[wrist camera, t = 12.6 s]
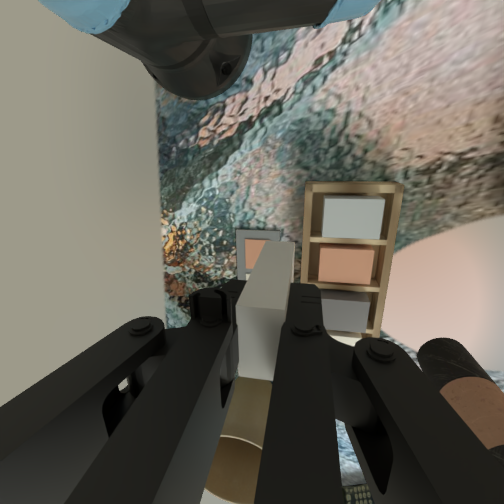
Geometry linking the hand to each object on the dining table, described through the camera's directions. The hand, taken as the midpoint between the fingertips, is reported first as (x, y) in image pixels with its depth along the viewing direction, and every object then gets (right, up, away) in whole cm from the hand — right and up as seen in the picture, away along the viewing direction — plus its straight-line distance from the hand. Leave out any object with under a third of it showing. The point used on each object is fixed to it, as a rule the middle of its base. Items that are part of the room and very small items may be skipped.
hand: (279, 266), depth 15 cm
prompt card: (0, -2, +32) cm, 32 cm away
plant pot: (-1, -26, +41) cm, 48 cm away
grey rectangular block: (+12, -7, +28) cm, 31 cm away
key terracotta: (+12, 0, +27) cm, 29 cm away
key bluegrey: (+12, +6, +23) cm, 26 cm away
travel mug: (+29, -16, +31) cm, 46 cm away
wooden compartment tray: (+12, -3, +29) cm, 32 cm away
